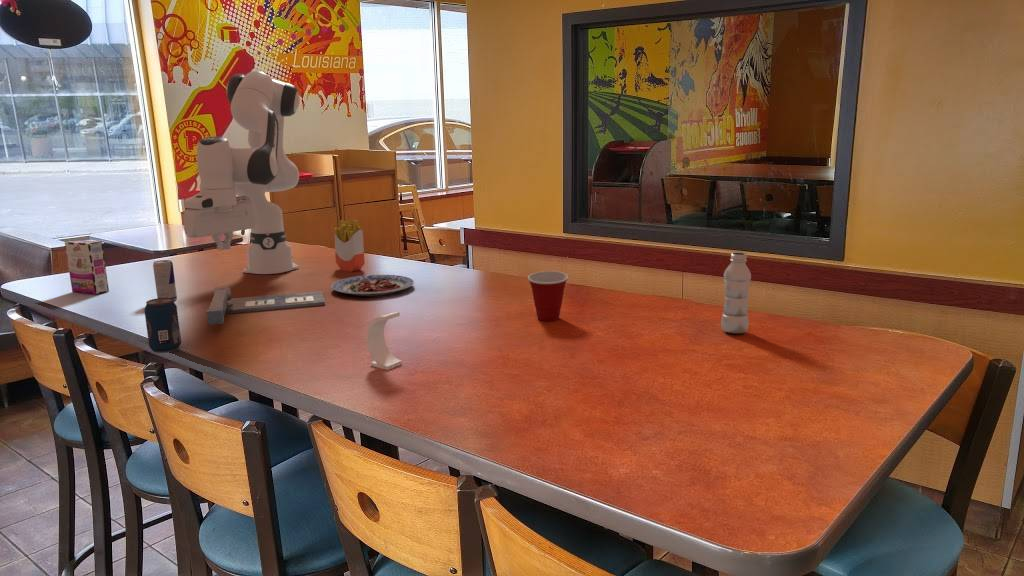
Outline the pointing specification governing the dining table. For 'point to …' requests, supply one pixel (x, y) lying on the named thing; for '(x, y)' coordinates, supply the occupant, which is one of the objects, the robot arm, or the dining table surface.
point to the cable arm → (218, 305)
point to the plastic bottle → (736, 295)
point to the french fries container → (349, 246)
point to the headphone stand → (380, 343)
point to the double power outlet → (275, 302)
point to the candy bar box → (87, 266)
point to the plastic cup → (548, 293)
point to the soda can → (162, 325)
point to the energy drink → (164, 279)
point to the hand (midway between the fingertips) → (224, 249)
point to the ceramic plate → (372, 285)
